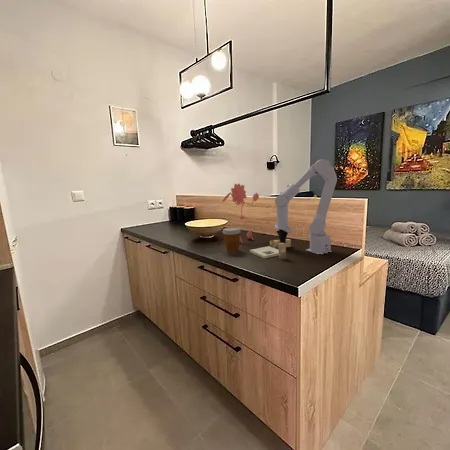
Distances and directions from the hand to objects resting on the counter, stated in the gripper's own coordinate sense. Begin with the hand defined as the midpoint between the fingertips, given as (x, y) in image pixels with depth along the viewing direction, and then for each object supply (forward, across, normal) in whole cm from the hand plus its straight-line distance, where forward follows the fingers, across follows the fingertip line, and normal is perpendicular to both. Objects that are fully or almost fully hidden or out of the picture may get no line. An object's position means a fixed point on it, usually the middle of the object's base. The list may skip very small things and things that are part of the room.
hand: (282, 243), depth 133 cm
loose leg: (+2, +15, -9) cm, 17 cm away
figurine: (+3, -28, -14) cm, 31 cm away
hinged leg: (+2, -2, 0) cm, 3 cm away
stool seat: (+2, +4, -12) cm, 12 cm away
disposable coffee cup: (+3, -8, -26) cm, 27 cm away
